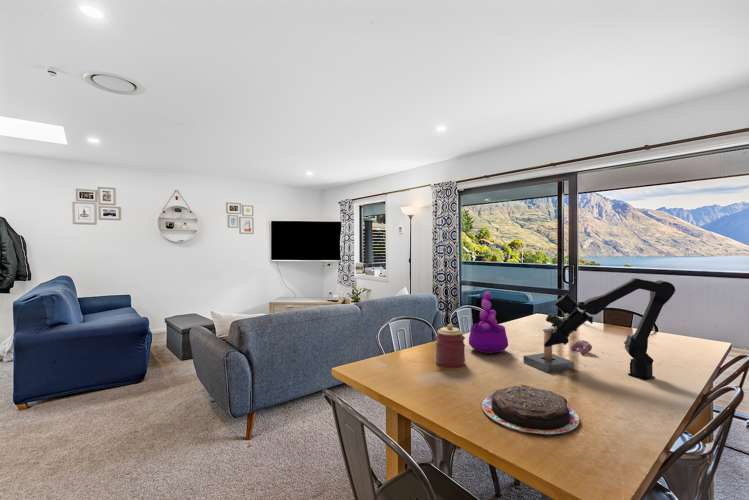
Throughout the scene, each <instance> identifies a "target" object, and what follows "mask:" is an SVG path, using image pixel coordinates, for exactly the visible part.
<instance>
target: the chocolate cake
mask: <svg viewBox="0 0 749 500" xmlns="http://www.w3.org/2000/svg"><path fill="white" fill-rule="evenodd" d="M481 408H482V411H483V412H484V414H486V416H487V418H488V419H490V421H491V422H493V423H496V424H498V425H500V426H503V427H505V428H508V429H511V430H513V431H516V432H518V433H522V434H538V435H541V436H546V437H553V436H554V435H559V434H564V433H565V434H566V433H568V432H569V433H571V432H573V431H574V430H576V428H578V427H579V425H580V420H581V419H580V417H579V415H578V413H577V412H576V411H575V410H574V409H573V408H572V407H570V406H569V405H568V401H567V399H566V398H565V397H564V396H562V395H560V394H557V393H556V392H554V391H550V390H546V389H541V388H537V387H534V386H529V385H526V384H521V385H517V386H516V385H513V386H510V387H509V386H508V387H505V388H499V389H496V390H495V391H494V392H493V393H492V395H488V396H487V397H486V398H485V399H484V400H482V403H481Z"/></svg>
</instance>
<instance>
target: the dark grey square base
mask: <svg viewBox="0 0 749 500" xmlns="http://www.w3.org/2000/svg"><path fill="white" fill-rule="evenodd" d="M523 363H524V364H526V365H528V366H530V367H534V368H536V369H537V370H540V371H542V372H544V373H547V374H550V373H558V372H563V371H569V370H574V369H575V361H573V360H570V359H567V358H564V357H562V356H559V355H556V354H553V353H552V360H551V361H547V360H544V352H542V353H536V354H535V353H534V354H529V355H528V354H527V355H523Z"/></svg>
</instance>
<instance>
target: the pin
mask: <svg viewBox="0 0 749 500" xmlns="http://www.w3.org/2000/svg"><path fill="white" fill-rule="evenodd" d="M553 328H554V327H552V328H551V327H542V331H543V353H544V360H547V361H551V360H552V354H553V345H552V346H548V347H545V346H544V344H545V343H546V342H547V341H548V339H549V338H550V337H551V335H552V333H551V331H552V332H553Z"/></svg>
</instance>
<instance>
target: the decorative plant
mask: <svg viewBox="0 0 749 500" xmlns="http://www.w3.org/2000/svg"><path fill="white" fill-rule="evenodd" d="M491 298H492V293H491V292H490V291H488V290H487V291H484V294H483V298H482V299H481V308H482V310H480V312H479V319H480V321H479V322H478V323H473V324H472V325H471V326H470V332H469V336H468V344H469V346H470V347H471V348H472V349H473V350H476V351H479V352H481V353H487V354H495V353H500V352H504V351H505V350H506V349H507V347H508V346H509V340H508V337H507V332H506V327H505V326H504V325H502V324H498V321H497V319H496V316H497V312H496V310H494V309H491V308H492V302H491V301H490V299H491Z"/></svg>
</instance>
